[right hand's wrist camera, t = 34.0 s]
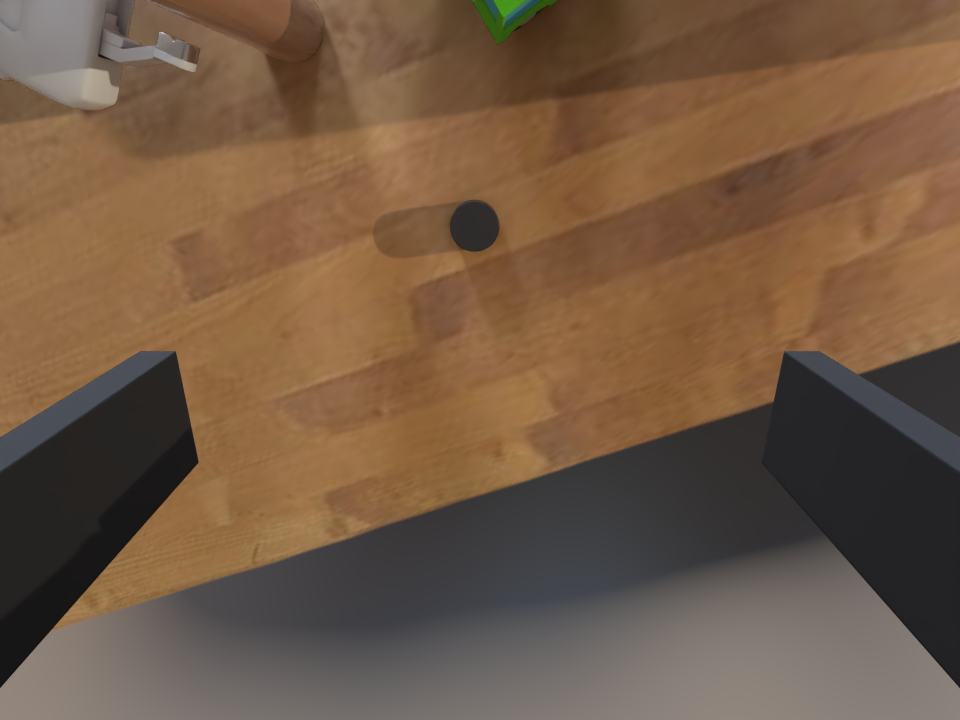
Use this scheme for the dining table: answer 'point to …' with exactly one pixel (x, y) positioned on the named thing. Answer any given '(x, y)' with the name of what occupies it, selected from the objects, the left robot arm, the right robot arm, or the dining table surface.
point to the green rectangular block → (508, 14)
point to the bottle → (258, 23)
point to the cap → (474, 225)
